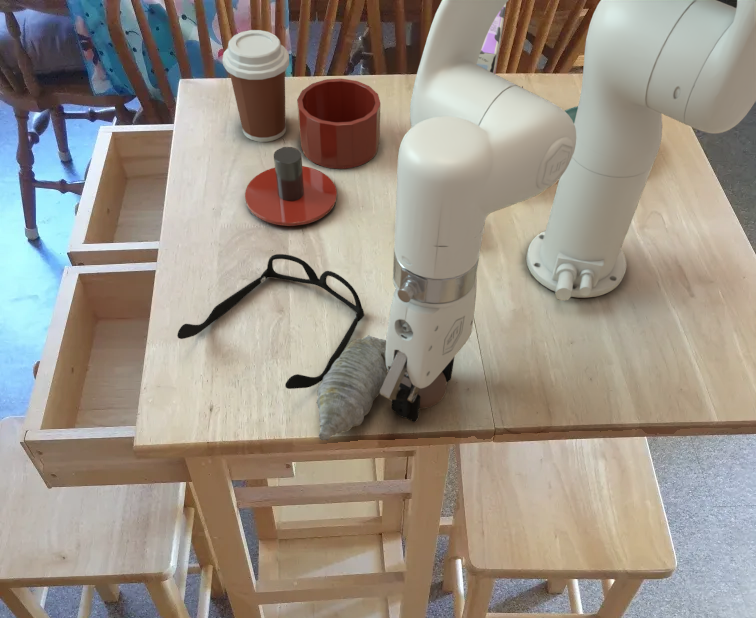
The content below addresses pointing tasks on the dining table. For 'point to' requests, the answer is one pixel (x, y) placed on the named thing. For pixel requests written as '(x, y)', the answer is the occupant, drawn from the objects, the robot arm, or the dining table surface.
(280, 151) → the lid
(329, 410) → the seashell
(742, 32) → the robot arm
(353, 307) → the glasses
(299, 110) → the pot
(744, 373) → the dining table surface
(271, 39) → the coffee cup
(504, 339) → the dining table surface
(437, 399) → the egg
